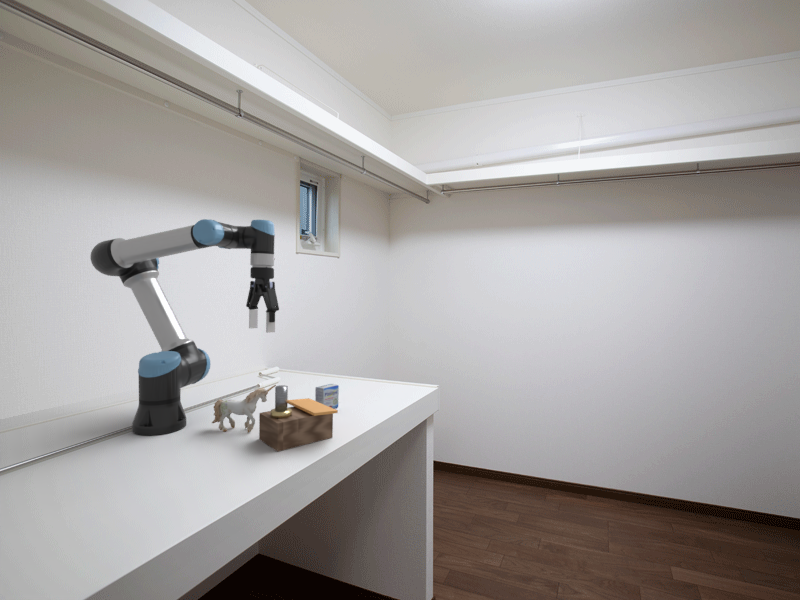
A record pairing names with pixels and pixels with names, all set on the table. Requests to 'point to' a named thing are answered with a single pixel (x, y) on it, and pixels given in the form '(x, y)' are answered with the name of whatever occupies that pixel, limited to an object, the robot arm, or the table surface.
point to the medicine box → (327, 395)
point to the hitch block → (294, 429)
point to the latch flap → (312, 406)
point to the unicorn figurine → (239, 408)
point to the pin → (281, 403)
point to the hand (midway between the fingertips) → (261, 330)
